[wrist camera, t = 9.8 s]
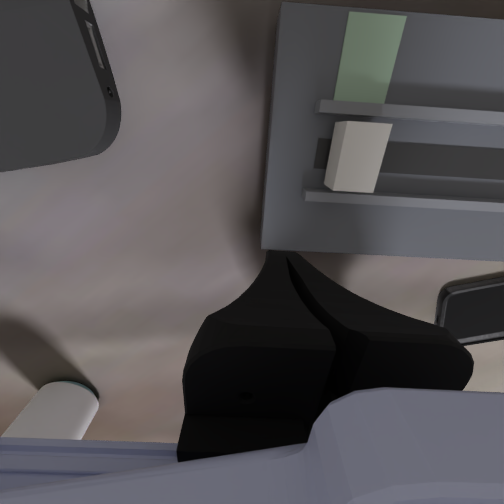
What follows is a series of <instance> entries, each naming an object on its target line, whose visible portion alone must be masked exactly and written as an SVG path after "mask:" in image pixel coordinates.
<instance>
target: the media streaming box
mask: <svg viewBox="0 0 504 504" xmlns="http://www.w3.org/2000/svg"><path fill="white" fill-rule="evenodd" d="M94 30H95V31H94ZM95 33H96V34H95ZM100 49H101V50H100ZM101 52H102V53H101ZM105 65H106V66H105ZM120 121H121V105H120V100H119V96H118V93H117V89H116V85H115V82H114V78H113V75H112V72H111V68H110V65H109V62H108V58H107V55H106V52H105V48H104V45H103V42H102V39H101V36H100V33H99V29H98V26H97V23H96V20H95V17H94V14H93V11H92V8H91V5H90V2H89V0H0V172H6V171H13V170H19V169H25V168H32V167H38V166H44V165H50V164H56V163H61V162H66V161H71V160H76V159H81V158H85V157H90V156H94V155H98V154H100V153H102V152H103V151H105V150H106V149H107V148H108V147H109V146H110V145H111V144H112V143H113V141H114V140H115V138H116V136H117V133H118V131H119V127H120Z"/></svg>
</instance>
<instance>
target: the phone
mask: <svg viewBox="0 0 504 504" xmlns="http://www.w3.org/2000/svg"><path fill="white" fill-rule="evenodd" d="M438 304H439V305H438ZM438 316H439V317H438ZM437 317H438V322H437ZM434 325H437V326H441V327H444V328H446V329H447V330H448V331H449V332H450V333H451V334H452V335H453V336H454V337H455V338H456V339H457V340H458V341H459V342H460V343H461V344H462V345H463V346H467V345H473V344H479V343H485V342H491V341H498V340H504V277H499V278H494V279H489V280H483V281H478V282H472V283H467V284H462V285H456V286H451V287H448V288H446V289H444V290H443V291H442V292H441V293H440V294H439V296H438V299H437V307H436V315H435V322H434Z"/></svg>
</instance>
